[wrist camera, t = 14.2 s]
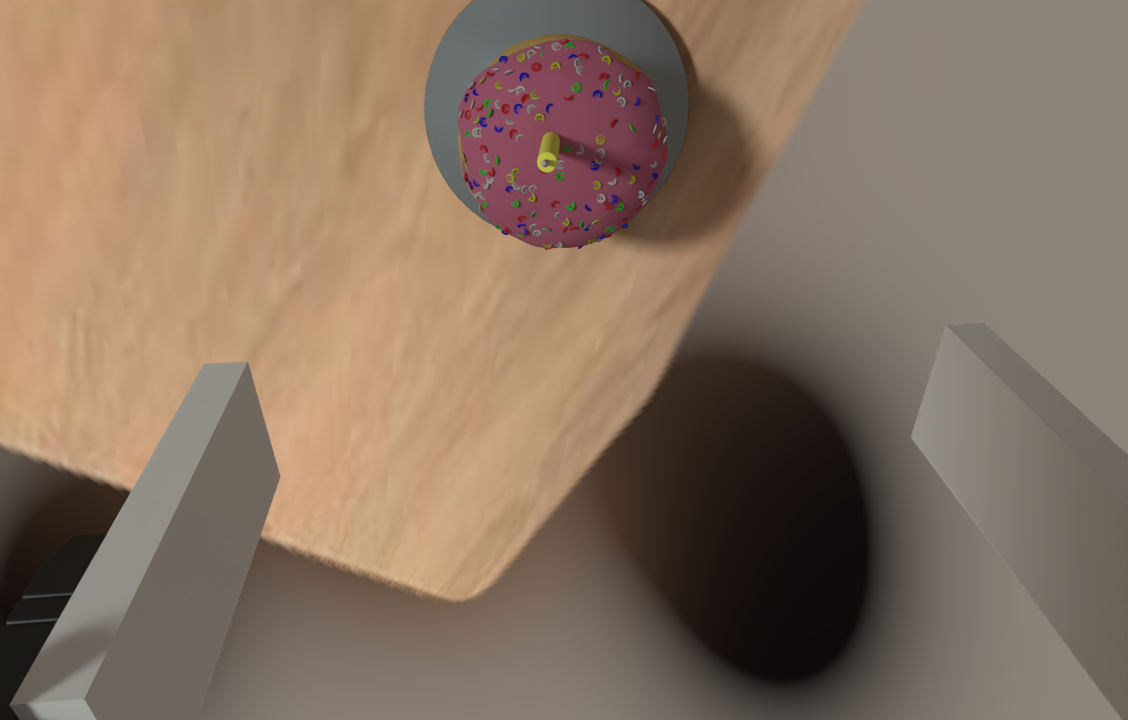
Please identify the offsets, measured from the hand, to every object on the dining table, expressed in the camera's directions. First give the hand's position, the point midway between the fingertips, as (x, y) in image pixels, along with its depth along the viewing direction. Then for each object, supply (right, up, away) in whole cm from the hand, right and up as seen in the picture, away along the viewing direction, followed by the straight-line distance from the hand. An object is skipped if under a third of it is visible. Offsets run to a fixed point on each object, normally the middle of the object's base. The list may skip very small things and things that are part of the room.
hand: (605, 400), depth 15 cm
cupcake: (-1, +12, +20) cm, 23 cm away
